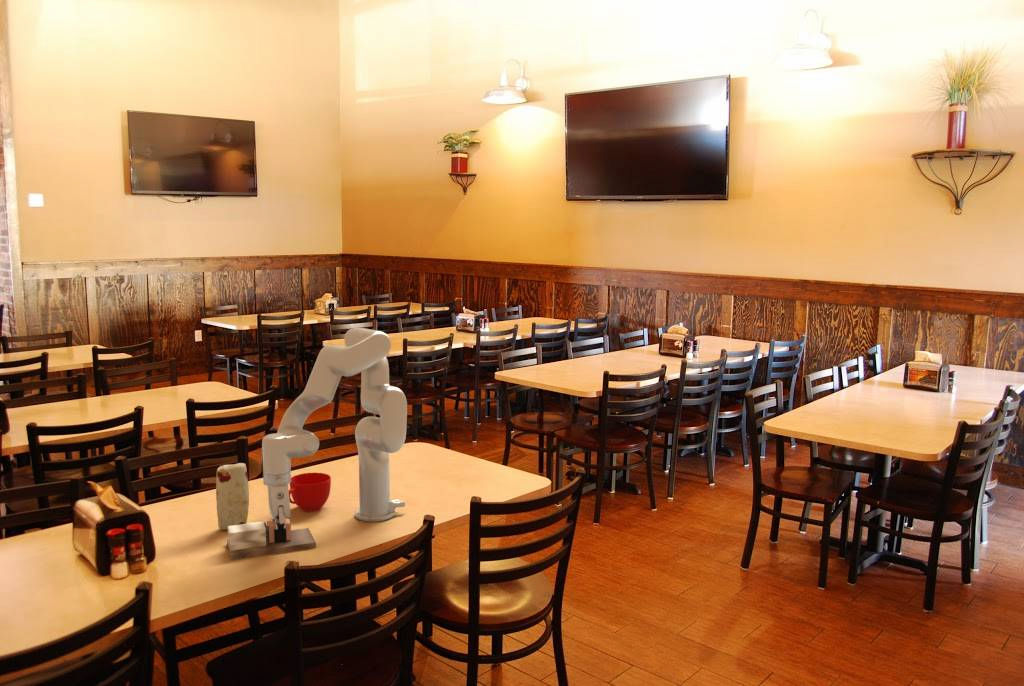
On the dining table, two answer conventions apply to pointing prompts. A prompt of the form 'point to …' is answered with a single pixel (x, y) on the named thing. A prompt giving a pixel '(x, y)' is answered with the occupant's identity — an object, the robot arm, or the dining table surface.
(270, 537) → the stub
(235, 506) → the food model
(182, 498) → the dining table surface
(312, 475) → the ceramic cup
